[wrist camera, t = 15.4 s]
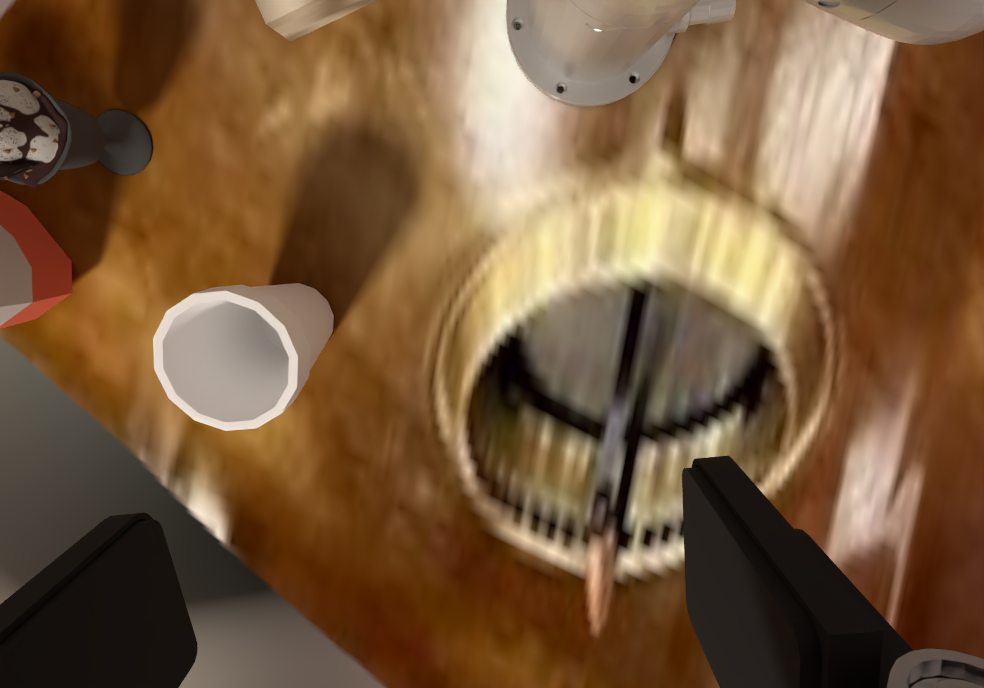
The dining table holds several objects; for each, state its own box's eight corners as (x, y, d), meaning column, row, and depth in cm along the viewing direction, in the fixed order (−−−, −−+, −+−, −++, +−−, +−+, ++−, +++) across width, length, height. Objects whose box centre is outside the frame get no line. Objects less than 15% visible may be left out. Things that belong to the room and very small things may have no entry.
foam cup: (286, 388, 50) (213, 453, 37) (222, 301, 48) (122, 340, 35) (372, 336, 48) (327, 385, 36) (310, 244, 47) (239, 263, 34)
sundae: (107, 79, 43) (-90, 22, 29) (179, 140, 45) (23, 115, 30) (64, 145, 45) (-146, 122, 30) (134, 203, 46) (-36, 207, 31)
